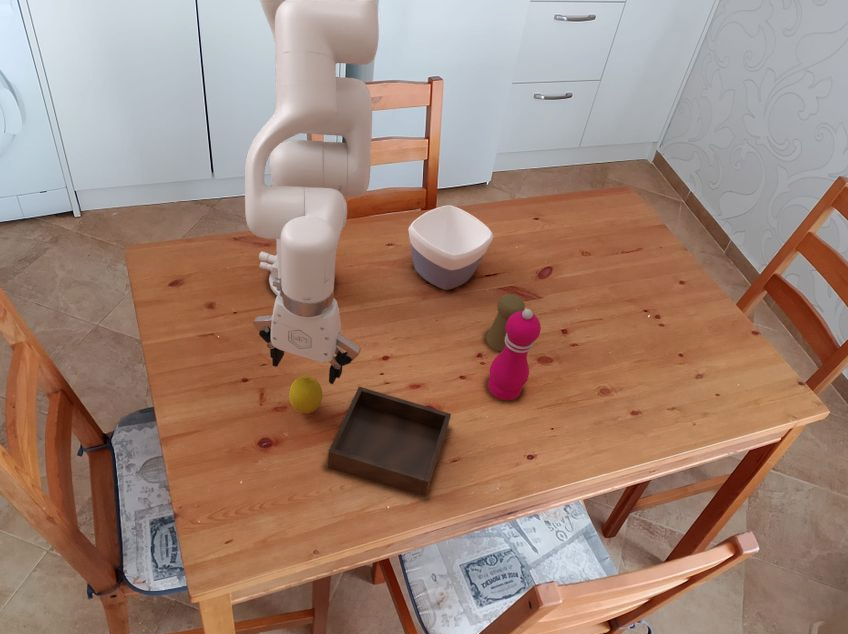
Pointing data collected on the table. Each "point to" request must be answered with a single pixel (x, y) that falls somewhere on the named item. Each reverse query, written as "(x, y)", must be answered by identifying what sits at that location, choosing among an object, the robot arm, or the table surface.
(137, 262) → the table surface
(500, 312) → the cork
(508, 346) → the pepper mill
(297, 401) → the lemon
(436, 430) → the dark wooden tray
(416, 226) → the bowl
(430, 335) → the table surface
